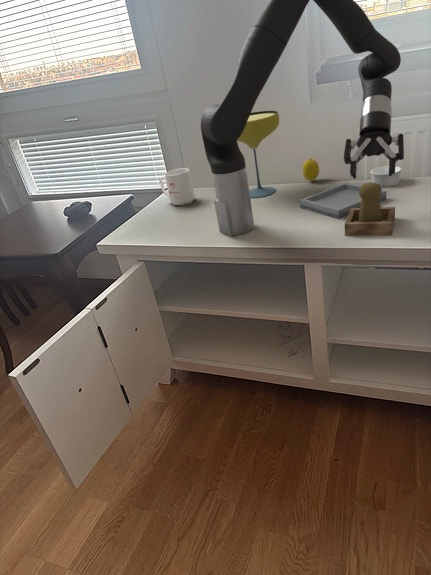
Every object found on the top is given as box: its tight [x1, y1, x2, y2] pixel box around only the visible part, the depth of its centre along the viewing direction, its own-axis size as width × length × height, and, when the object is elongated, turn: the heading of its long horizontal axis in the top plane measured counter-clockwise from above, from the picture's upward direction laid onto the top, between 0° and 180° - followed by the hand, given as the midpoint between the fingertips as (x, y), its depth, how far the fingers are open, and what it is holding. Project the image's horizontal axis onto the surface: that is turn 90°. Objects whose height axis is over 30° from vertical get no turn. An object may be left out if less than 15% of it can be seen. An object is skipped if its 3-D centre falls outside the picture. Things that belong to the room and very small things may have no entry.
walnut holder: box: [344, 206, 396, 236], centre depth 108 cm, size 11×11×3 cm
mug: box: [158, 167, 196, 206], centre depth 154 cm, size 12×9×11 cm
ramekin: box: [369, 165, 402, 188], centre depth 134 cm, size 9×9×4 cm
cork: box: [357, 182, 384, 222], centre depth 106 cm, size 6×6×11 cm
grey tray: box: [299, 182, 387, 220], centre depth 125 cm, size 18×16×2 cm
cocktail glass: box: [237, 110, 280, 199], centre depth 143 cm, size 18×18×25 cm
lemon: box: [302, 158, 320, 182], centre depth 148 cm, size 6×6×8 cm
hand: (372, 175), depth 108 cm, fingers open, 8 cm apart
